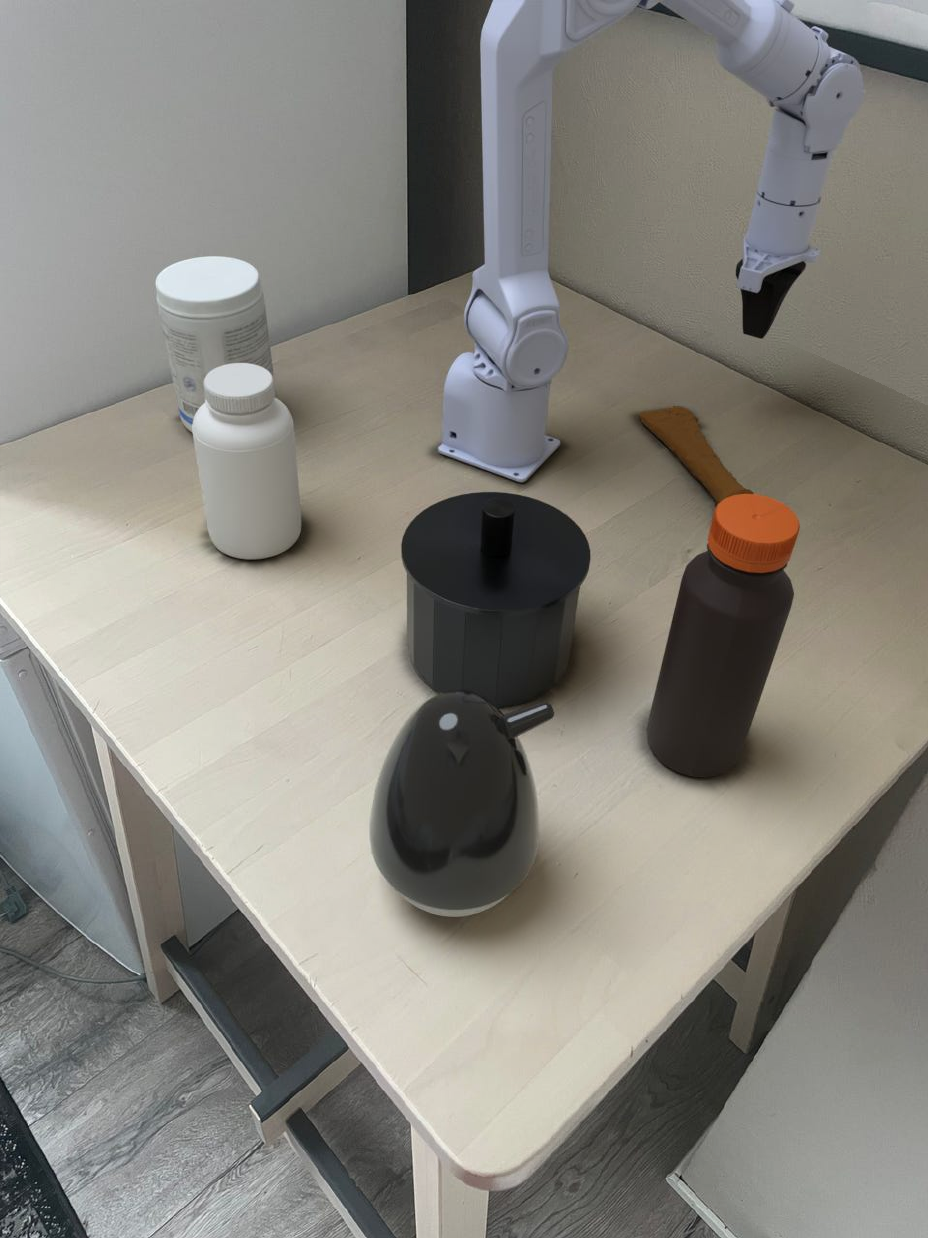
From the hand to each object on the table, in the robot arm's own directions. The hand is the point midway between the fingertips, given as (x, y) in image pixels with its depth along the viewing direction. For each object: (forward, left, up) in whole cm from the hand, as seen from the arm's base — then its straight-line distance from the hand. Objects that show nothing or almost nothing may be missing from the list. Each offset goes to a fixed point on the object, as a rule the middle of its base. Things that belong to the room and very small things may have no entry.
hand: (754, 333), depth 102 cm
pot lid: (-4, -46, +1) cm, 46 cm away
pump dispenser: (+4, -64, -8) cm, 65 cm away
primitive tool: (0, -13, -8) cm, 15 cm away
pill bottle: (-28, -44, -8) cm, 53 cm away
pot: (-4, -46, -8) cm, 46 cm away
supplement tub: (-42, -31, -8) cm, 53 cm away
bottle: (+13, -46, -8) cm, 49 cm away
